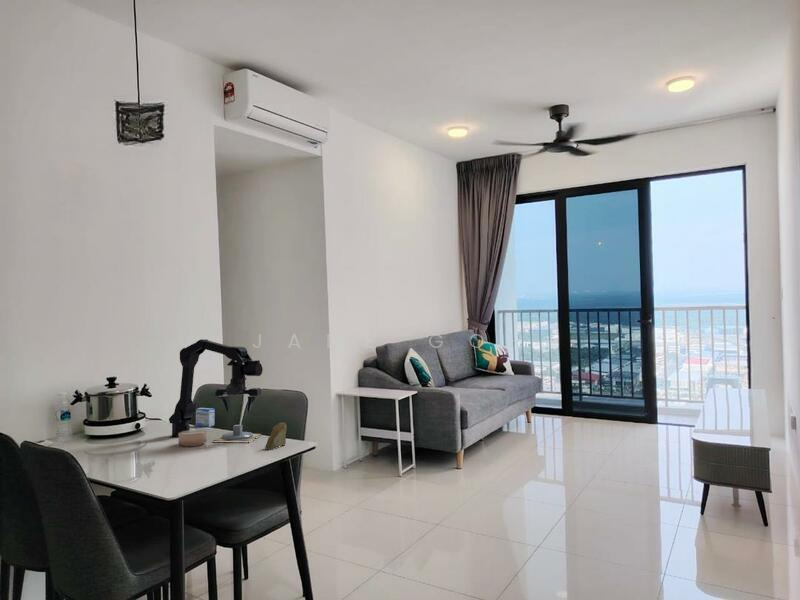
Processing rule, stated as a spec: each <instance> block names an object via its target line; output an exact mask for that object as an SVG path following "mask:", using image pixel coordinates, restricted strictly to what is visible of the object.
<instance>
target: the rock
mask: <svg viewBox="0 0 800 600" xmlns="http://www.w3.org/2000/svg"><path fill="white" fill-rule="evenodd" d="M287 428H288V427H287V423H286V422H284V421H283V422H278V423H277V424H276V425H274V426H273V427H272V431H271V433H270V436H268V438H267V442H266V444H265V446H264V449H265V450H268V451H269V450H272V449H273V448H274V449H277V448H276V447H278V448H280V447H279V446H281V447H283V446H282V445H284V446H286V445H285V444H286V442H287V441H286V440H287V438H286V436H287V435H286V434H287Z"/></svg>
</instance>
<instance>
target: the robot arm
mask: <svg viewBox="0 0 800 600" xmlns="http://www.w3.org/2000/svg"><path fill="white" fill-rule="evenodd" d="M205 351H209V352H213V353H217V354H221V355H223V356H225V357H226V358H227V359H229V360H230V361H228V363H227V364H226V365H227V366H228V367H230V366H231V378H230V381H229V383H228V384H227V386H226V387H221V388H217V389H216V390H215V394H214V395H215V397H218V399H221V400H222V402H223V404H224V407H225V410H226V412H227V413H229V412H230V409H231V408H230V406H231V405H230V404H231V403H230V401H231V399H230V398H231V396H230V395H232V396H237V395H248V396H247V412H248V413H250V412H251V409H252V407H253V405H254V401H255V400H256V398H258V397H259V396H260V395H262V389H261V387H252V388H248V389H247V386H246V380H247V377H260V376H261V375H262V374H263V371H264V370H263V369H264V368H263V365H262V363H261V360H259V359H257V360H253V359H252V357H251V355H249V354H250V353H248V350H247V347H245V346H234V345H233V346H231V345H227V344H222V343H218V342H216V341H212V340H209V339H199V340H197V341H195V343H192V344H190V345H188V346H186V347H183V348H181V350H180V351H179V363H180V365H181V367H182V370H181V371H182V373H181V381H180V391H179V392H180V393H179V399H178V401H177V403H176V405H175V408H174V412H173V414H172V415H170V417H169V418H168V422H169V424H171V428H172V429H171V435H170V436H179V432H182V431H188V430H191V429H190V421H192V419H193V416H194V415H195V413H196V407H197V403H196V402H194V401H193V399H192V396H193V387H194V375H195V374H194V373H195V367H196V366H197V364H198V362H199V358H200V355H202V354H203V353H204V352H205Z"/></svg>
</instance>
